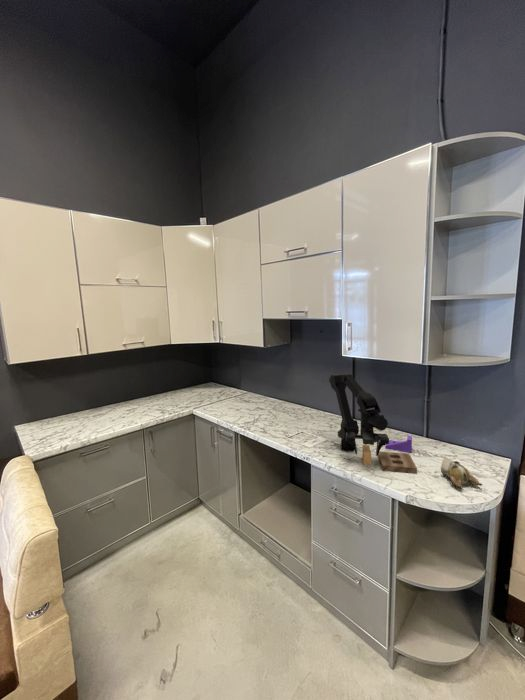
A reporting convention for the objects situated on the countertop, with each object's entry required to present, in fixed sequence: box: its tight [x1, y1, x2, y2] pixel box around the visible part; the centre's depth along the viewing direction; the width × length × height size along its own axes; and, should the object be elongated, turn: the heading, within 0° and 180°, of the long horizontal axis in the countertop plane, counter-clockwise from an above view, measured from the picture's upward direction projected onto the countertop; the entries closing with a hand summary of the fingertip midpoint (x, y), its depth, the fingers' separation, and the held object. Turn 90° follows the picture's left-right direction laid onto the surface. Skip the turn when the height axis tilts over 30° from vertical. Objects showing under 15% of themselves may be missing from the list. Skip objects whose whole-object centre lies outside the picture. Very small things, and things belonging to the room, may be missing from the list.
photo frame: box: [284, 430, 328, 449], centre depth 171 cm, size 15×1×18 cm
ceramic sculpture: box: [440, 456, 483, 489], centre depth 126 cm, size 11×9×15 cm
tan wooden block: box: [361, 444, 372, 466], centre depth 144 cm, size 3×8×6 cm, turn 168°
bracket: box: [384, 435, 413, 454], centre depth 157 cm, size 12×7×7 cm, turn 63°
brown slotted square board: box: [377, 451, 418, 474], centre depth 141 cm, size 14×14×2 cm
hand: (366, 455), depth 144 cm, fingers open, 9 cm apart
